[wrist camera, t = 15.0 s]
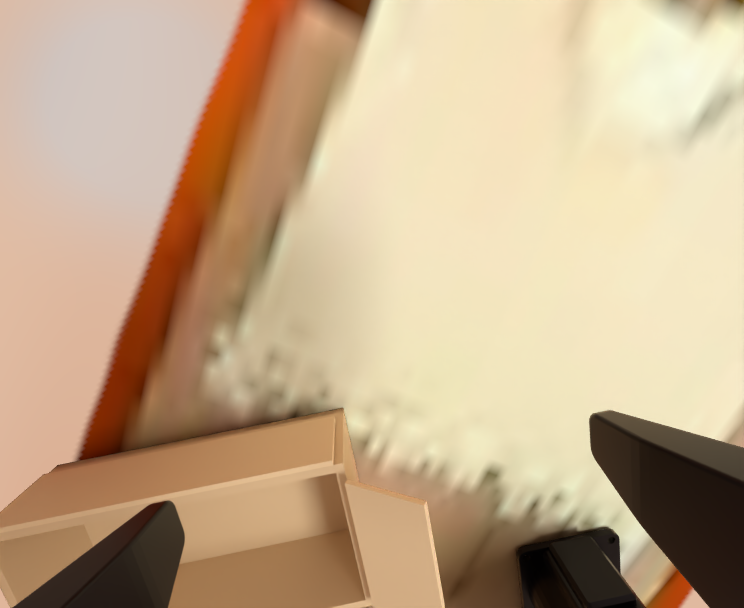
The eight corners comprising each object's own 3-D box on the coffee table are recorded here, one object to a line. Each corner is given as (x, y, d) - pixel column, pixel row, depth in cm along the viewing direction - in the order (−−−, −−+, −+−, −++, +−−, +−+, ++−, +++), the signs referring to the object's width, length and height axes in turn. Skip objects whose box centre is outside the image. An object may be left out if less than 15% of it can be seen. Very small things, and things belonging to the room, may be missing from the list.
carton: (370, 531, 24) (377, 616, 19) (109, 586, 24) (45, 687, 19) (341, 402, 22) (341, 458, 17) (55, 459, 22) (-34, 534, 16)
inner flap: (373, 610, 18) (376, 605, 19) (448, 646, 16) (450, 640, 16) (344, 483, 17) (347, 479, 17) (424, 505, 15) (426, 501, 15)
